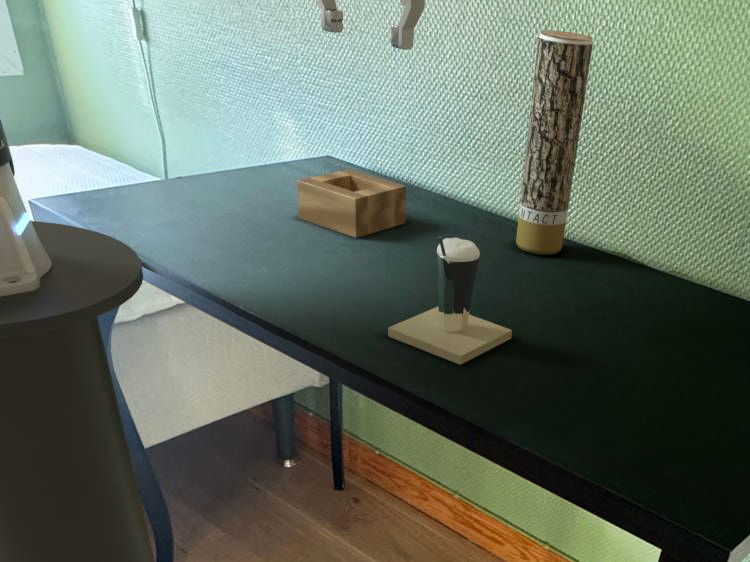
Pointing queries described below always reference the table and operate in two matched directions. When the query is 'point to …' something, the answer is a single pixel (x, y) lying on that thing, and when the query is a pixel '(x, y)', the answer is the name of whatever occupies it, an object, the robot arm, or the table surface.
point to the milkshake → (455, 282)
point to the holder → (351, 202)
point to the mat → (449, 336)
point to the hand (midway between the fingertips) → (366, 39)
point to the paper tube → (552, 139)
